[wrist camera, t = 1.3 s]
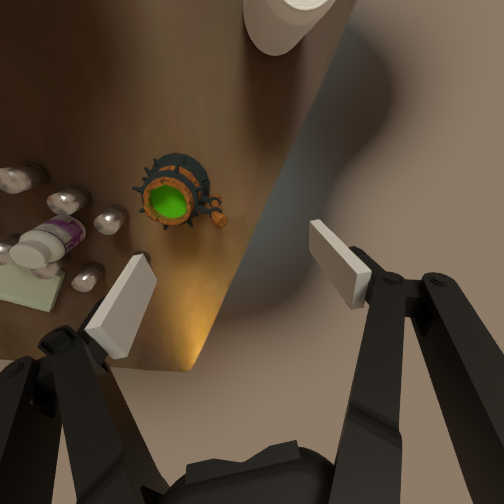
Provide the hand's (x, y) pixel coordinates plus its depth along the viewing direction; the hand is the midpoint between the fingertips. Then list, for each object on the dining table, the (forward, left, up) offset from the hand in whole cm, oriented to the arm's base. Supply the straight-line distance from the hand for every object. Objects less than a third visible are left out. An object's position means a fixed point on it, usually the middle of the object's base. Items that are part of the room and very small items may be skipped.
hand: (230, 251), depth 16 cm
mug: (-5, -4, -23) cm, 24 cm away
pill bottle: (-19, -22, -23) cm, 37 cm away
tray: (-23, -38, -23) cm, 50 cm away
